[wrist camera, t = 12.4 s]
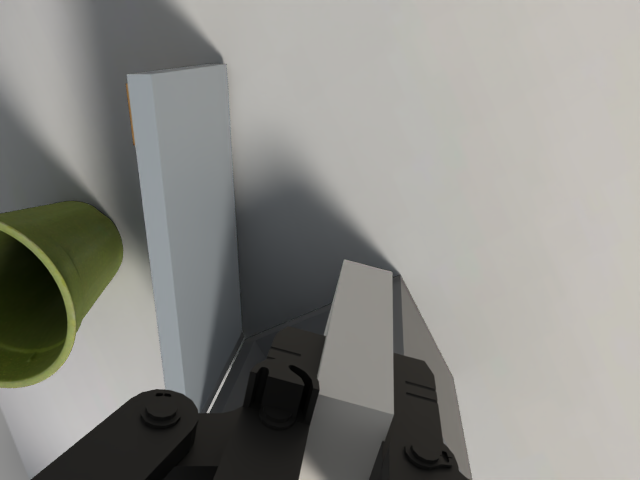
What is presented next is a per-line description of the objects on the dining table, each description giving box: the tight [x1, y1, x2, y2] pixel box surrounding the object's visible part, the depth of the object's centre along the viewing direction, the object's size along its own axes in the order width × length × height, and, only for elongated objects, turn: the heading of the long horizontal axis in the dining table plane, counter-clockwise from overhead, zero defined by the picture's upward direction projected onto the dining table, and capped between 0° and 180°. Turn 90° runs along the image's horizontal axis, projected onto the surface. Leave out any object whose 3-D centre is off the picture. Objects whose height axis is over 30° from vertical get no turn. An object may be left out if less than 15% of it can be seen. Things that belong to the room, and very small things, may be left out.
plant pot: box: [0, 201, 123, 388], centre depth 37 cm, size 12×12×11 cm
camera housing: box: [210, 275, 472, 480], centre depth 37 cm, size 10×14×14 cm
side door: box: [126, 64, 244, 413], centre depth 34 cm, size 2×22×12 cm, turn 179°
